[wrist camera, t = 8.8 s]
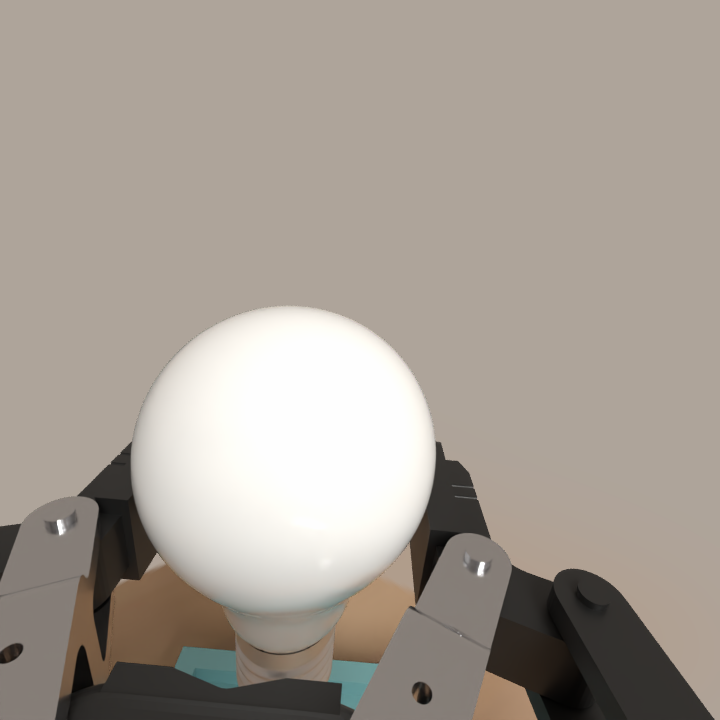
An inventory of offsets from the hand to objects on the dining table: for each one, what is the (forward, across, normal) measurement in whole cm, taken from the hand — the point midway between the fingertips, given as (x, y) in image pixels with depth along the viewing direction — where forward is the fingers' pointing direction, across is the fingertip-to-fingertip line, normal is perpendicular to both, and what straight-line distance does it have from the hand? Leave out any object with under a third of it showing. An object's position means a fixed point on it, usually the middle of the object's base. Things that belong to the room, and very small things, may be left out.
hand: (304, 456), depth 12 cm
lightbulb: (-2, 0, +6) cm, 7 cm away
